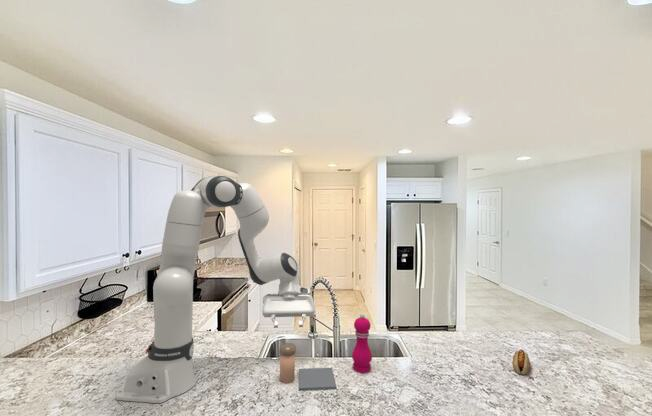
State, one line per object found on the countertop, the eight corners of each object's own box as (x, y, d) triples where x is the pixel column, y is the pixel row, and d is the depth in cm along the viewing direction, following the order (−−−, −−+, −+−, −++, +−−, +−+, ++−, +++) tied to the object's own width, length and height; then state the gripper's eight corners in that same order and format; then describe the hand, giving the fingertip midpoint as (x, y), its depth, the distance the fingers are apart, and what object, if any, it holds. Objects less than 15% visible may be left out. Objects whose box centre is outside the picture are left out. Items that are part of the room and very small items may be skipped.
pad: (299, 390, 96) (299, 388, 96) (298, 371, 108) (298, 368, 108) (336, 389, 97) (336, 386, 97) (331, 369, 109) (332, 367, 109)
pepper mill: (371, 375, 106) (371, 317, 106) (350, 372, 107) (351, 316, 108) (372, 365, 113) (372, 311, 113) (353, 362, 114) (353, 309, 115)
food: (530, 378, 105) (530, 364, 105) (511, 374, 108) (511, 360, 108) (530, 362, 116) (530, 349, 116) (513, 358, 119) (513, 346, 120)
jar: (278, 383, 99) (279, 350, 100) (279, 375, 105) (280, 343, 105) (295, 383, 100) (295, 349, 100) (294, 374, 105) (295, 342, 106)
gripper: (262, 289, 119) (259, 323, 109) (314, 289, 121) (315, 322, 111) (263, 298, 124) (260, 331, 114) (313, 297, 126) (314, 329, 116)
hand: (288, 326), depth 113 cm, fingers open, 8 cm apart
